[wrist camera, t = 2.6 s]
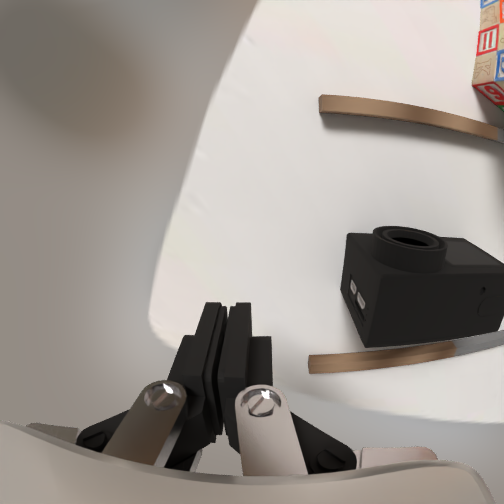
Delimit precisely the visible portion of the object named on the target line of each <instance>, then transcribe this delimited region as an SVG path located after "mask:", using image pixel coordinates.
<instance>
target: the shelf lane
mask: <svg viewBox="0 0 504 504" xmlns="http://www.w3.org/2000/svg"><path fill="white" fill-rule="evenodd" d="M319 113H332V114H347V115H358V116H368V117H377V118H385V119H393V120H400V121H406V122H412V123H418V124H424V125H429V126H435V127H440V128H444V129H449V130H453V131H458V132H462V133H466V134H470V135H474V136H478V137H482V138H485V139H490V140H498V128H497V127H495V126H492V125H489V124H486V123H483V122H479V121H476V120H473V119H469V118H466V117H462V116H458V115H454V114H450V113H446V112H442V111H438V110H433V109H429V108H424V107H419V106H414V105H408V104H403V103H397V102H390V101H383V100H376V99H368V98H359V97H349V96H338V95H323V94H322V95H321V96H320V97H319ZM456 349H457V348H456V346H455V345H454V343H453V342H452V341H448V342H442V343H435V344H429V345H422V346H415V347H407V348H399V349H390V350H380V351H370V352H358V353H344V354H326V355H309V360H308V368H309V374H315V373H334V372H348V371H359V370H370V369H379V368H387V367H395V366H403V365H409V364H416V363H422V362H428V361H434V360H439V359H444V358H449V357H454V354H455V352H456Z"/></svg>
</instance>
